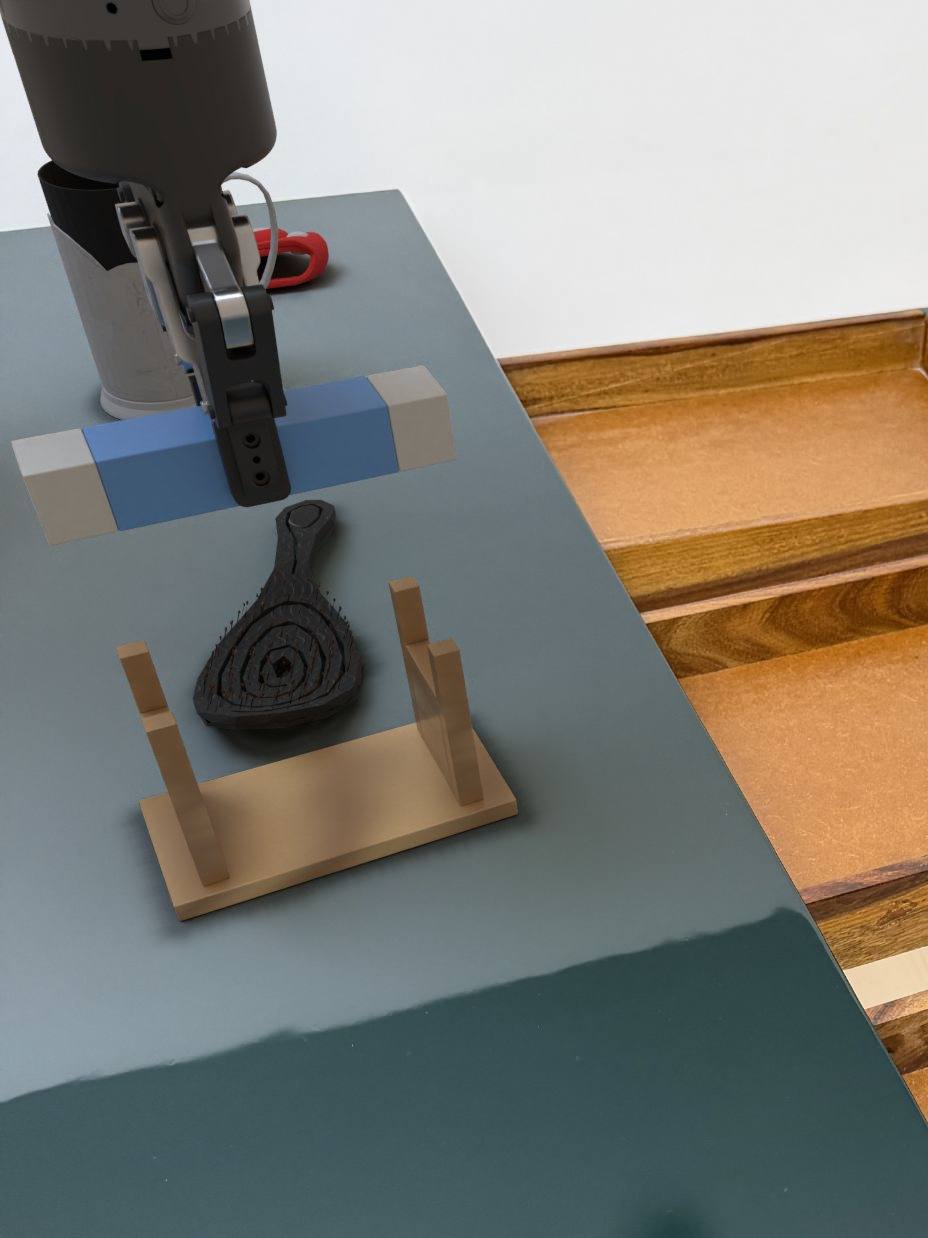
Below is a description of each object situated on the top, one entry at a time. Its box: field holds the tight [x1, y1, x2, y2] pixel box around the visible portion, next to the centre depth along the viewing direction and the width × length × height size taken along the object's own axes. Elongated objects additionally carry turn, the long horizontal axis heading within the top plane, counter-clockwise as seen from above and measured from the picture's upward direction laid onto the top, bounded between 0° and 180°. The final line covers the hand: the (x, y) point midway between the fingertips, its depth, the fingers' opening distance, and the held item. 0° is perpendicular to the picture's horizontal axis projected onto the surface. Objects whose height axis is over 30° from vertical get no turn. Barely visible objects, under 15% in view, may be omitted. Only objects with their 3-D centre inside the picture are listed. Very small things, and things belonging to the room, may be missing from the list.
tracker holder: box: [252, 226, 330, 290], centre depth 112 cm, size 12×4×10 cm
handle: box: [10, 364, 458, 547], centre depth 57 cm, size 16×3×3 cm, turn 121°
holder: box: [115, 575, 519, 922], centre depth 65 cm, size 16×8×10 cm, turn 120°
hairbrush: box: [192, 499, 364, 731], centre depth 79 cm, size 8×4×25 cm
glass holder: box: [37, 159, 279, 421], centre depth 95 cm, size 9×14×15 cm, turn 123°
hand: (251, 477), depth 57 cm, fingers closed on handle, 3 cm apart
